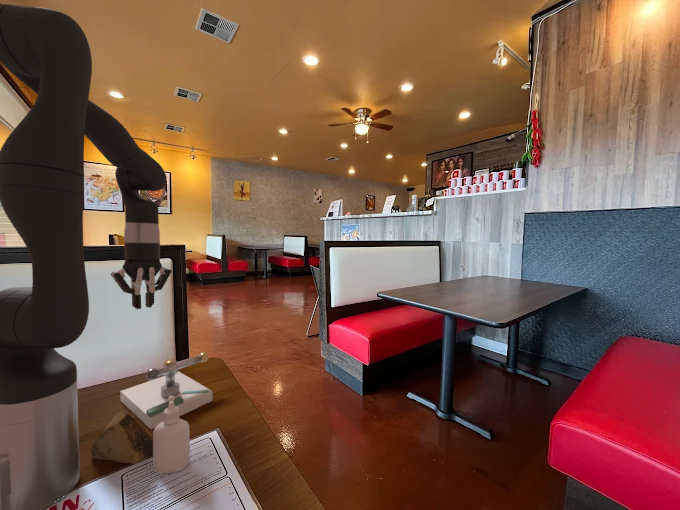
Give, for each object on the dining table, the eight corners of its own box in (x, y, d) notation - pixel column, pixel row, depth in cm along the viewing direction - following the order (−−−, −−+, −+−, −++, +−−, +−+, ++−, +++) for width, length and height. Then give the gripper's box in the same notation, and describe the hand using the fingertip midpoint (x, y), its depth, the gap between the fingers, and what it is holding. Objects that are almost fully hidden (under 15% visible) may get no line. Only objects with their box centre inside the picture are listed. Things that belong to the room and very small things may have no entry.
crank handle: (149, 396, 66) (148, 370, 65) (143, 391, 68) (143, 366, 67) (211, 372, 78) (211, 350, 78) (204, 369, 80) (204, 348, 80)
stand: (151, 429, 62) (150, 407, 61) (120, 400, 72) (120, 381, 72) (212, 400, 73) (212, 382, 73) (178, 379, 83) (178, 363, 83)
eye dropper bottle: (172, 453, 55) (172, 392, 54) (193, 463, 53) (193, 399, 52) (149, 470, 51) (148, 404, 50) (171, 481, 49) (170, 413, 48)
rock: (68, 454, 51) (90, 470, 46) (100, 402, 56) (124, 412, 51) (126, 459, 58) (151, 474, 53) (151, 413, 63) (176, 423, 58)
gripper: (115, 241, 66) (116, 315, 66) (177, 241, 77) (178, 305, 78) (104, 240, 70) (105, 310, 71) (164, 241, 81) (165, 301, 82)
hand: (143, 307), depth 74 cm, fingers closed
